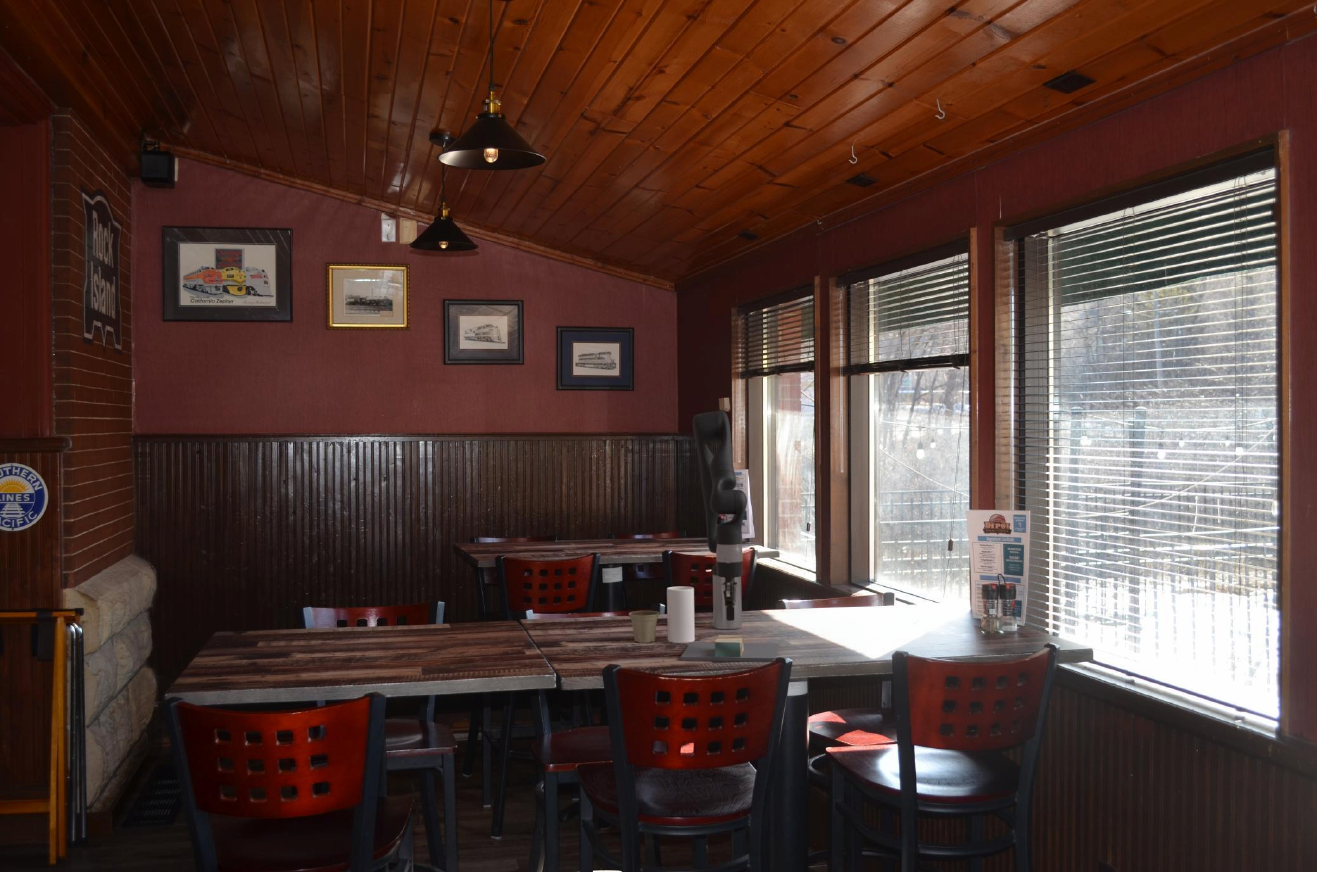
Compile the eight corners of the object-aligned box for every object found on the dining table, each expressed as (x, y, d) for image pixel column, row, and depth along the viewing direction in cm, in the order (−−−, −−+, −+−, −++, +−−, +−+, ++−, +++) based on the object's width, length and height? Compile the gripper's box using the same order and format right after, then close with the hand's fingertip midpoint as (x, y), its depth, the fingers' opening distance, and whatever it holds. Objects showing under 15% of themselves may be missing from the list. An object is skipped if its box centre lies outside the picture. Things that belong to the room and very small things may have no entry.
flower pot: (635, 645, 321) (635, 616, 321) (624, 640, 330) (624, 612, 330) (664, 642, 325) (664, 614, 325) (653, 637, 334) (652, 609, 334)
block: (719, 635, 308) (714, 642, 297) (743, 635, 307) (740, 642, 296) (719, 649, 308) (715, 656, 297) (743, 649, 307) (740, 656, 296)
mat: (690, 645, 319) (690, 642, 319) (778, 646, 315) (778, 643, 315) (680, 660, 298) (680, 656, 298) (774, 661, 293) (774, 658, 293)
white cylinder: (670, 643, 323) (669, 590, 323) (665, 638, 331) (664, 587, 331) (697, 642, 325) (696, 589, 325) (691, 637, 333) (690, 585, 333)
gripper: (718, 557, 314) (719, 616, 314) (714, 562, 301) (715, 624, 301) (744, 557, 313) (745, 616, 313) (740, 562, 300) (741, 624, 300)
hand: (730, 620), depth 307 cm, fingers closed
